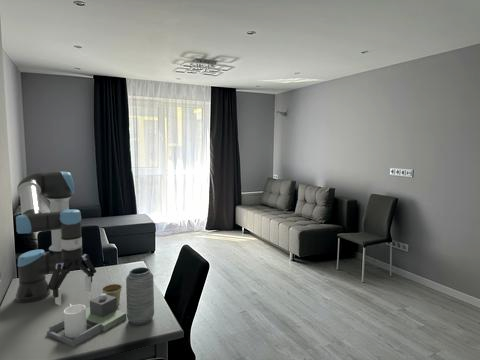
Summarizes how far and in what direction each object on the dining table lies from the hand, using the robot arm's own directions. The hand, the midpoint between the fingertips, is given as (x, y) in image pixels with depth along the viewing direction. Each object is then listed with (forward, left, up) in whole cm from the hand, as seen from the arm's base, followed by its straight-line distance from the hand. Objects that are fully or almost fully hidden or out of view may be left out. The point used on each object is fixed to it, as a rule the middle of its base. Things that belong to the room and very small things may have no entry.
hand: (74, 297), depth 135 cm
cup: (-2, 0, -15) cm, 15 cm away
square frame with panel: (0, +5, -15) cm, 16 cm away
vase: (+17, +20, -15) cm, 30 cm away
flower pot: (-6, +24, -15) cm, 29 cm away
